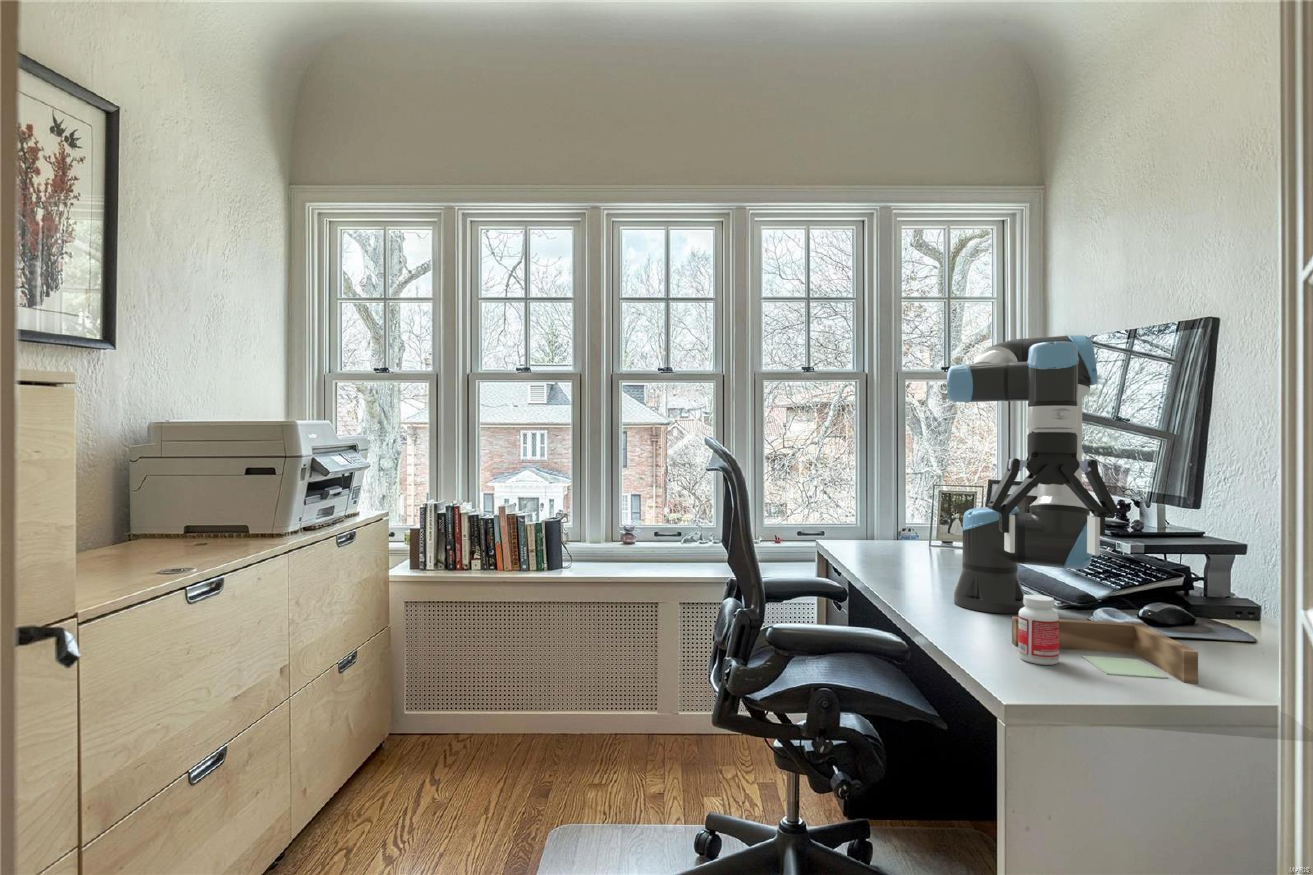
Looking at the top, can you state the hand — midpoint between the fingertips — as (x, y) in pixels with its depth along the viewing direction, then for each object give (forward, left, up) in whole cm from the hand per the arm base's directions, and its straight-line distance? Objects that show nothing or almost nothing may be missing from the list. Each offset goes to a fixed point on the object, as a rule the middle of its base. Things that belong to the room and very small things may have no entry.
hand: (1050, 553), depth 115 cm
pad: (0, +11, -19) cm, 22 cm away
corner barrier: (-3, +8, -19) cm, 21 cm away
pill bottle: (-1, -2, -19) cm, 19 cm away
